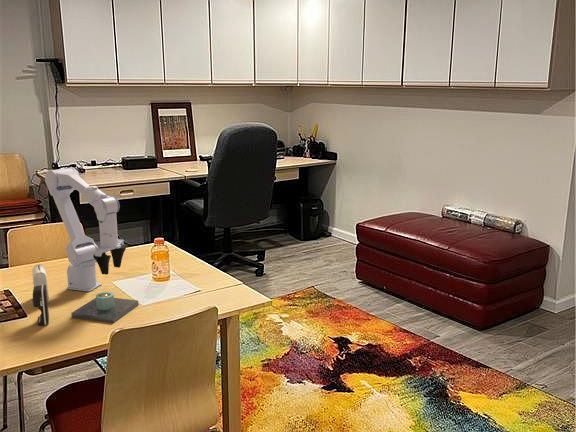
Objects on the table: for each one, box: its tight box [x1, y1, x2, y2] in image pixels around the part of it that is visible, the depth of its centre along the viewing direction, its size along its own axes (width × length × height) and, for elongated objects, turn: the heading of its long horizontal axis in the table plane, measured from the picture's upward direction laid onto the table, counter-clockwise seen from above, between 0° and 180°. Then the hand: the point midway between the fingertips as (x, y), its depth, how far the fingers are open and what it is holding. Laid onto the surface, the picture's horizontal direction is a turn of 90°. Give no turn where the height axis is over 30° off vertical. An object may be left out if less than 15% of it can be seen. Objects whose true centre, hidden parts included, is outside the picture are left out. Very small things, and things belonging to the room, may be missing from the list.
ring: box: [95, 291, 115, 310], centre depth 177 cm, size 5×5×4 cm
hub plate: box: [71, 294, 139, 324], centre depth 177 cm, size 15×15×6 cm
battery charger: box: [32, 285, 50, 326], centre depth 168 cm, size 7×4×11 cm, turn 22°
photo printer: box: [31, 263, 50, 303], centre depth 185 cm, size 10×4×12 cm, turn 26°
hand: (111, 270), depth 188 cm, fingers open, 7 cm apart
